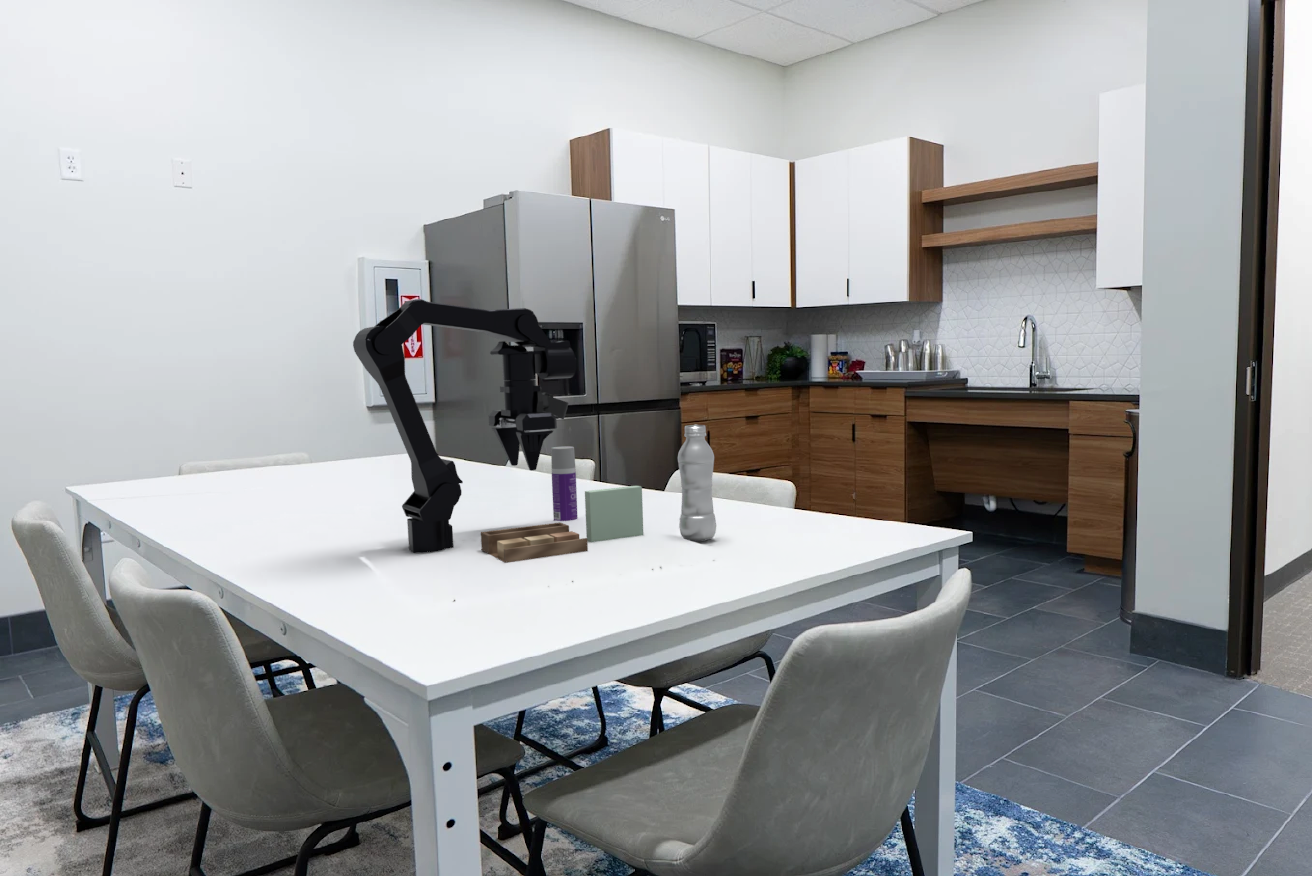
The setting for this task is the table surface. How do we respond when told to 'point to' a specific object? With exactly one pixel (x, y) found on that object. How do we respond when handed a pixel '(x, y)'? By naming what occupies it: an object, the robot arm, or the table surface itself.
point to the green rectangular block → (614, 513)
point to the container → (564, 483)
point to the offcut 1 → (510, 545)
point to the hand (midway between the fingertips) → (523, 467)
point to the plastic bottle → (696, 486)
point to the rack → (532, 551)
